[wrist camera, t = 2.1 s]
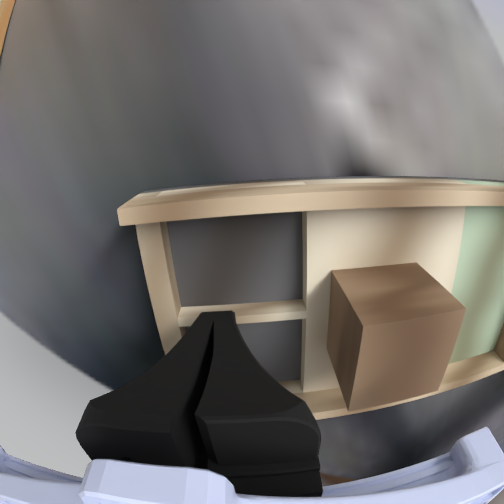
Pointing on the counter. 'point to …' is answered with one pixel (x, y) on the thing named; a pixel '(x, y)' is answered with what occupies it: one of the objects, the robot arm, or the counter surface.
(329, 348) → the walnut block
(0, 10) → the small box
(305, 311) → the tray
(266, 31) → the counter surface
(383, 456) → the counter surface
